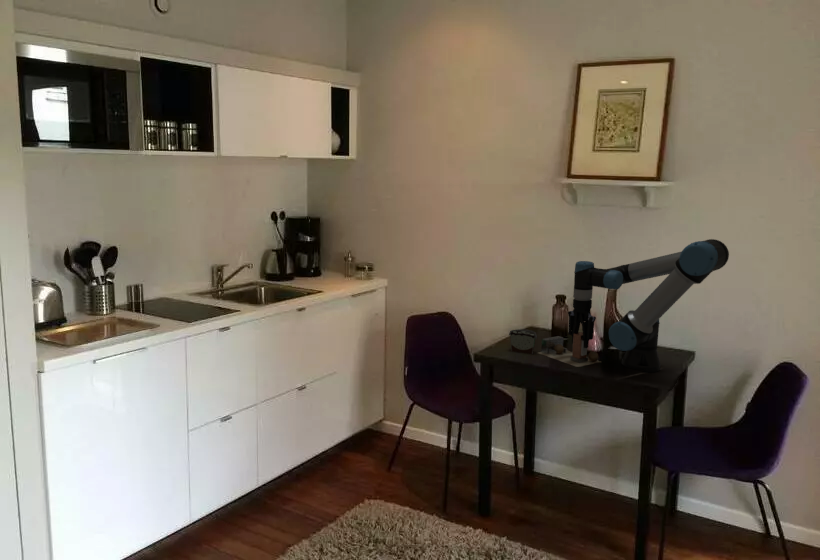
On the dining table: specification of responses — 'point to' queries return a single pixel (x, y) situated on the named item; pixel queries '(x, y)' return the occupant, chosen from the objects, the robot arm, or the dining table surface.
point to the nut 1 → (559, 348)
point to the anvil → (551, 345)
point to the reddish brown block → (578, 349)
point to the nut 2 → (593, 356)
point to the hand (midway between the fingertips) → (579, 353)
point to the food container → (522, 341)
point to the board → (566, 359)
